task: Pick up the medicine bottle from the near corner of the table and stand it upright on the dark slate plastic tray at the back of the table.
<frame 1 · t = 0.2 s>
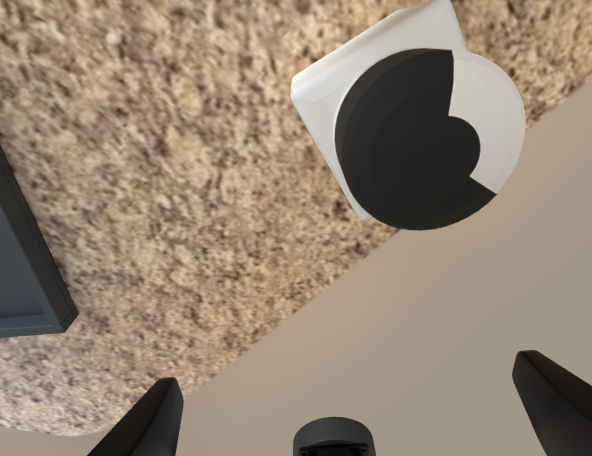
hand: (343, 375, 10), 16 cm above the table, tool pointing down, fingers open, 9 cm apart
medicine bottle: (369, 100, 22), on the table
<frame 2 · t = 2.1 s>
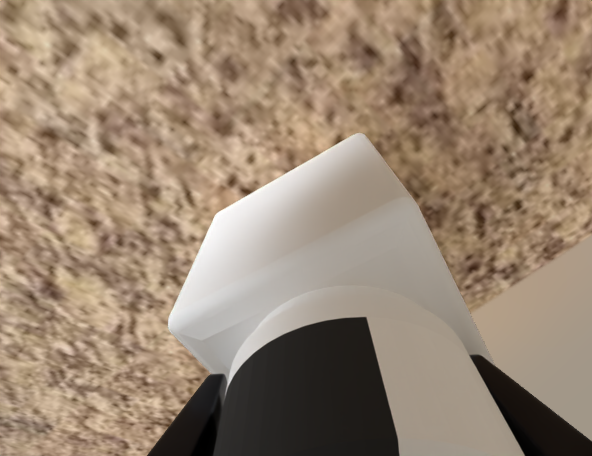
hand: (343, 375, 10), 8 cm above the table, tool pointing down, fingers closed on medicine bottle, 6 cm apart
medicine bottle: (324, 236, 17), on the table, touching gripper
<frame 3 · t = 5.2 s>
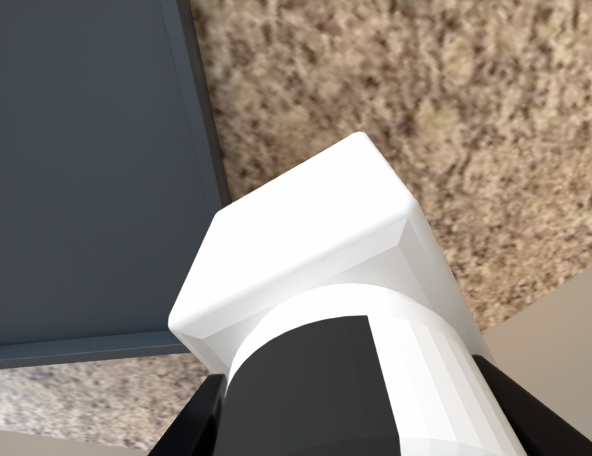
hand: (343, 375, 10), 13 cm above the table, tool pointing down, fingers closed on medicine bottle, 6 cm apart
tray: (28, 166, 20), on the table
medicine bottle: (324, 235, 17), point 5 cm above the table, touching gripper
when the fingers open (8 cm above the table, at t = 8.5 s): medicine bottle stays where it is, resting on tray.
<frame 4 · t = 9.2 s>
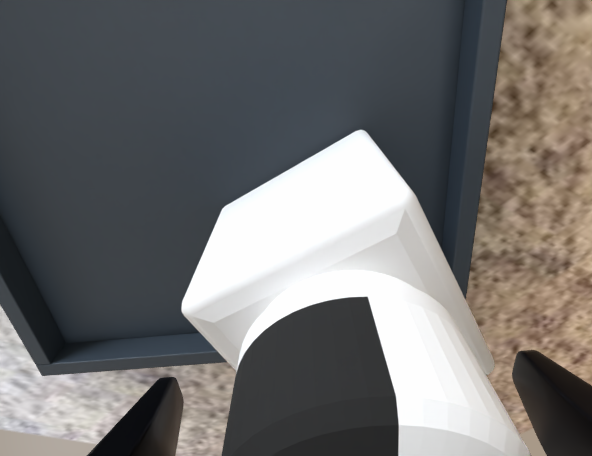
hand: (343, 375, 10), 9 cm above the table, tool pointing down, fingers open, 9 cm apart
tray: (201, 92, 15), on the table
medicine bottle: (326, 229, 17), resting on tray
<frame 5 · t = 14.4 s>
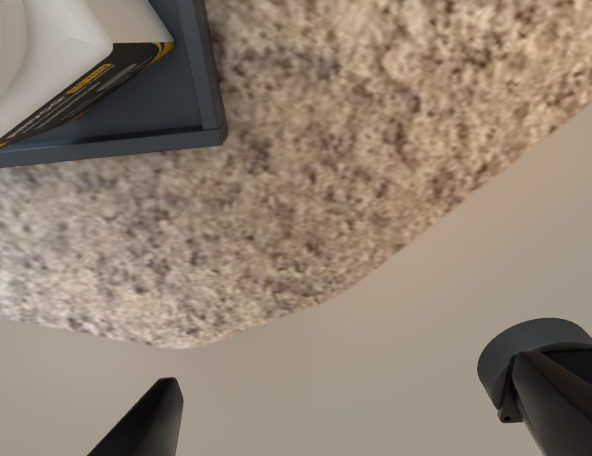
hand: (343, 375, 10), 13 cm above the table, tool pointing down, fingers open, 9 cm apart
medicine bottle: (70, 14, 17), resting on tray
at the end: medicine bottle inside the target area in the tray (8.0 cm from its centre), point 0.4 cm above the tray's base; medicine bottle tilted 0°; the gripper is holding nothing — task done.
